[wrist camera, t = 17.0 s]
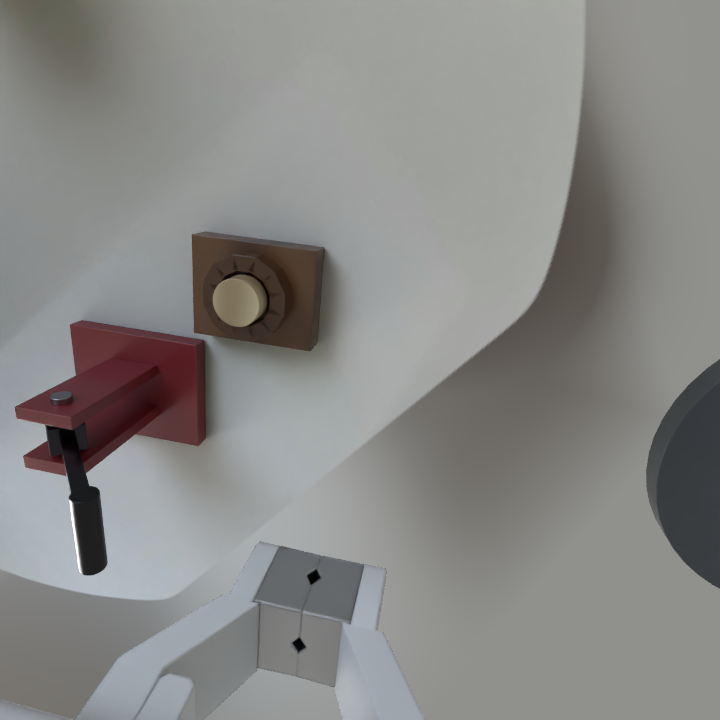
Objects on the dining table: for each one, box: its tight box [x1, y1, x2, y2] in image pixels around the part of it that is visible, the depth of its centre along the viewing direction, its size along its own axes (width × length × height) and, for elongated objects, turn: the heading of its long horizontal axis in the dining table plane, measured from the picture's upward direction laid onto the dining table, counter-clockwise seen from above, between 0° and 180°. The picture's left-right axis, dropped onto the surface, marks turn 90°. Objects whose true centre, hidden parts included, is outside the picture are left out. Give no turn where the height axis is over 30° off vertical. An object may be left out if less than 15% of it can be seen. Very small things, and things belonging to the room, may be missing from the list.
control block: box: [192, 232, 324, 351], centre depth 38 cm, size 10×8×4 cm
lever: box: [45, 422, 107, 575], centre depth 31 cm, size 14×5×2 cm
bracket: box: [15, 320, 206, 476], centre depth 39 cm, size 12×10×12 cm
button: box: [213, 275, 267, 327], centre depth 36 cm, size 4×4×2 cm
